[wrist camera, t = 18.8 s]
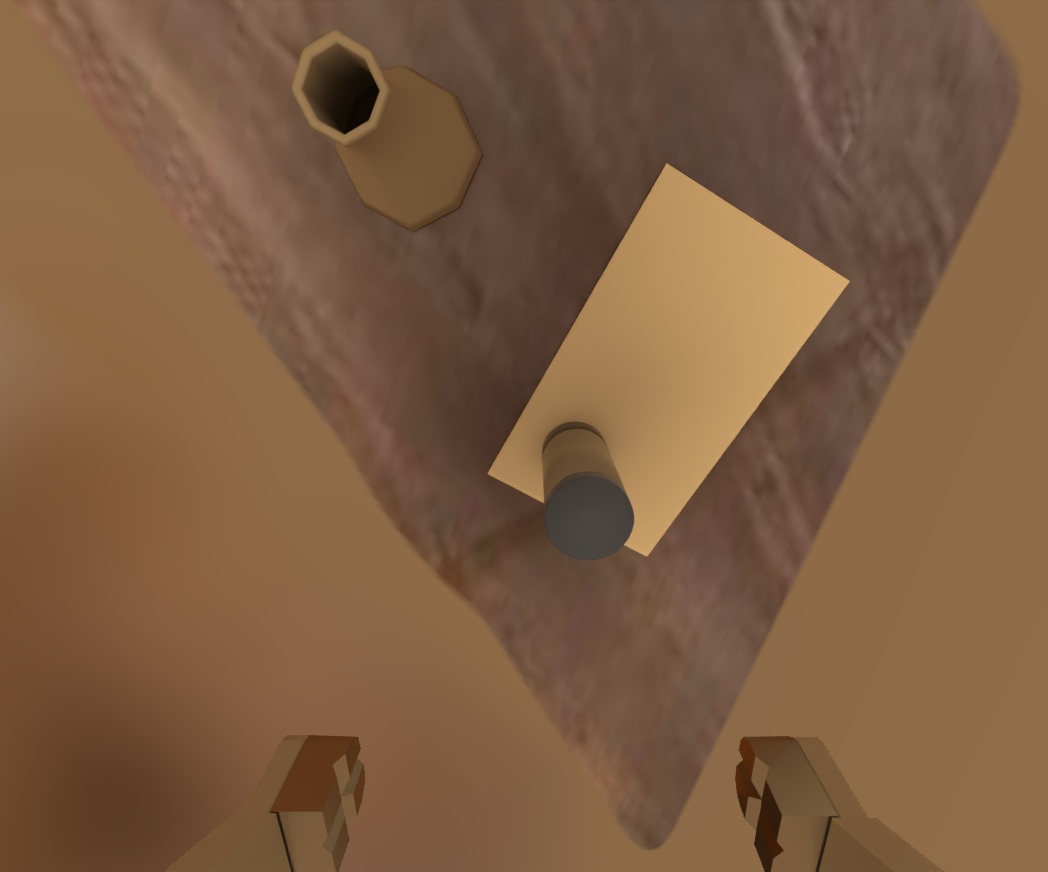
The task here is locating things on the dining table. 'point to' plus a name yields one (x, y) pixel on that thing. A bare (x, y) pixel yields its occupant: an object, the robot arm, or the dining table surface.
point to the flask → (388, 130)
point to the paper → (674, 349)
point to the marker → (583, 494)
